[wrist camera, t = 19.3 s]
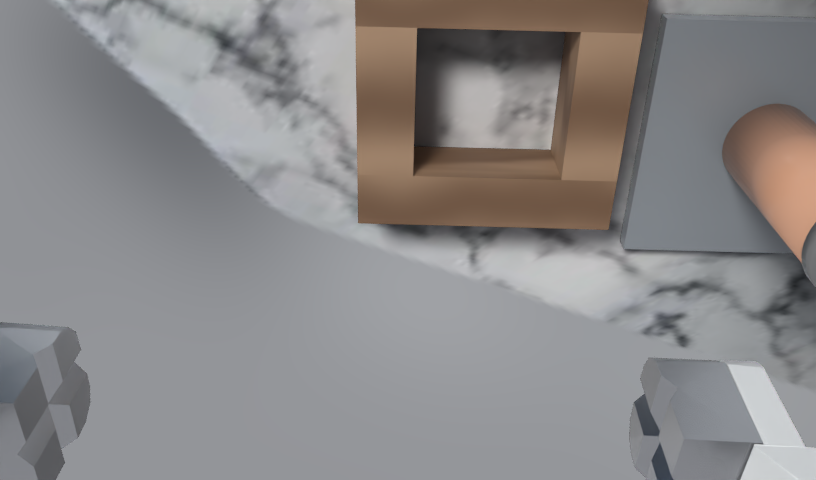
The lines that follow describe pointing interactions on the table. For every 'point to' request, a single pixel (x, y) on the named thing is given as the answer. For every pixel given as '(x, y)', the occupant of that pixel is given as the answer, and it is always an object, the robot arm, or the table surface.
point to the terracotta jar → (778, 173)
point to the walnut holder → (487, 167)
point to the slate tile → (711, 128)
